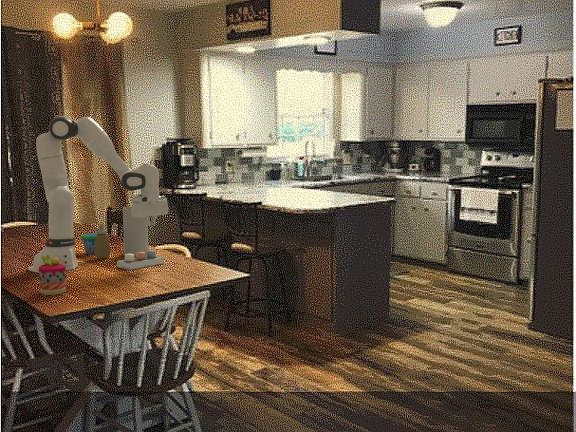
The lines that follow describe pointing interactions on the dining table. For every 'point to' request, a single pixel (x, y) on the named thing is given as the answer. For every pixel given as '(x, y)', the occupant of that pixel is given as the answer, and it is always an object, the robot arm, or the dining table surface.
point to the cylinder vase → (134, 233)
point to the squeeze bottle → (102, 244)
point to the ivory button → (129, 257)
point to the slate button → (151, 253)
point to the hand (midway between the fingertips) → (150, 225)
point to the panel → (140, 263)
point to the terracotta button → (140, 255)
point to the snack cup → (89, 242)
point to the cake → (52, 277)
